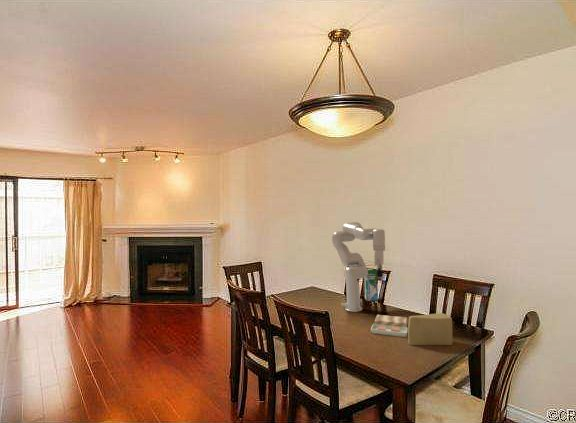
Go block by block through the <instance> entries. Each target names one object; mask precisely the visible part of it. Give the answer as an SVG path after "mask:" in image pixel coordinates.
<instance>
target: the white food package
mask: <svg viewBox="0 0 576 423" xmlns="http://www.w3.org/2000/svg"><path fill="white" fill-rule="evenodd" d="M374 324H379V325H389V326H399V327H408V317H406V316H396V315H395V316H393V315H386V314H385V315H384V314H383V315H382V314H376V317H375V319H374Z"/></svg>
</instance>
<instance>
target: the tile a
mask: <svg viewBox="0 0 576 423" xmlns="http://www.w3.org/2000/svg"><path fill="white" fill-rule="evenodd" d="M377 330H385V331H386V327H383V326H378V328H377Z"/></svg>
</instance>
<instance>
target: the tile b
mask: <svg viewBox="0 0 576 423" xmlns="http://www.w3.org/2000/svg"><path fill="white" fill-rule="evenodd" d="M391 331H394V332H400V328H399V327H392V328H391Z"/></svg>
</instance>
